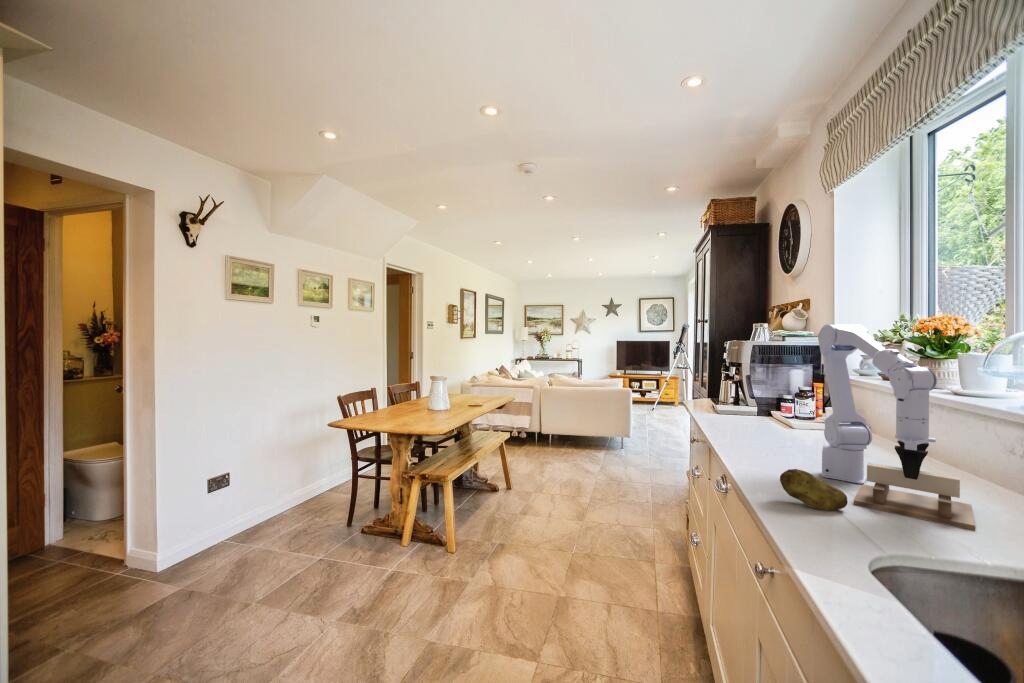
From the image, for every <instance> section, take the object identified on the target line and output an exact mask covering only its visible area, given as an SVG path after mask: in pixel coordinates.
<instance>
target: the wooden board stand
mask: <svg viewBox="0 0 1024 683" xmlns="http://www.w3.org/2000/svg"><path fill="white" fill-rule="evenodd" d="M937 495H938V497H934V496H927V495H922V494H916V493H913V492H912V493H911V492H905V491H901V490H895V489H891V488H890V485H886V484H880V483H875V482H874V485H871V484H870V485H868V484H865V483H864V484H861V486H860V487H859V489H858V491H857V493H856V495H855V497H854V498H853V505H855V506H859V507H865V508H869V509H873V510H879V511H883V512H888V513H892V514H897V515H902V516H905V517H911V518H916V519H920V520H925V521H929V522H934V523H940V524H943V525H949V526H953V527H957V528H961V529H962V528H963V529H967V530H971V531H976V521H975V516H974V511H973V506H972V504H971V503H965V502H962V501H961V502H959V501H954V500H952V497H951V496H946V495H940V494H937Z"/></svg>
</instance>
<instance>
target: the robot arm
mask: <svg viewBox="0 0 1024 683" xmlns="http://www.w3.org/2000/svg"><path fill="white" fill-rule="evenodd" d="M817 338H818V344H819V351H820V354H821V355H822V359H823V364H824V370H825V375H826V381H827V387H828V393H829V398H830V403H831V404H830V405H831V409H832V413H831V414H830V415H829V416H828V417H826V418H825V419H824V430H823V434H824V435H823V436H824V439H825V440H826V443H828V444H826V443H825V444H823V446H822V449H821V450H822V451H821V477H823V478H827V479H828V478H829V479H834V480H839V481H844V482H849V483H855V484H861V485H862V484H864V485H865V482H867V475H865V474H864V467H865V466H864V465H865V464H864V462H865V461H864V460H865V459H864V458H865V456H864V455H865V454H864V453H865V450H867V449H868V448H867V447H869V446H870V444H871V443H872V440H873V433H872V430H871V429H870V427H869V425H868V421H867V419H866V418H865V417H863V416H862V415H861V414H859V413H858V412H857V411H856V410H857V409H856V405H855V399H854V395H853V390H852V386H851V378H850V374H849V369H848V365H847V358H848V356H849V355H853V353H855V352H856V351H857V350H859V351H861V352H862V353H864V354H865V355H867V356H868V357H869V358H871V360H872V364H873V366H874V367H875V368H876V369H878V371H880V372H881V373H882V374H884V375H885V376H886V377H887V378H888V379H889V384H890V385H891V388H892V389H893V396H894V398H895V400H896V405H895V406H896V407H895V408H896V410H895V411H896V413H895V416H896V417H895V418H896V419H895V434H894V438H895V439H896V440H897V443H898V445H894V450H895V452H896V453H897V455H898V457H899V460H900V464H901V468H903V473H904V476H905V478H909V479H915V480H917V479H918V476H919V472H920V471H921V467H922V463H923V461H924V460H925V458H926V457H927V455H928V454H929V451H928V450H927V449H928V447H929V446H930V444H929V443H936V442H937V439H936V438H935V437H930V391H932V390H934V389H935V387H936V386H937V382H938V380H937V378H938V377H937V375H936V373H935V371H934V370H932V368H931V367H929V366H919V365H917V364H915V362H914V361H912V360H909V359H908V358H906V357H905V356H904V355H902V354H901V351H900V350H899V349H893V348H884V347H883V346H882V345H881V344H880V343H879V342H877V340H875V339H874V338H873V337H872V336H871V335H869V330H868V329H867V328H866V327H864V326H863V325H862V324H857V323H856V324H824V325H823V326H822V327H821V328H820V330H819V332H818V334H817Z"/></svg>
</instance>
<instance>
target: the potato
mask: <svg viewBox="0 0 1024 683" xmlns="http://www.w3.org/2000/svg"><path fill="white" fill-rule="evenodd" d="M779 482H780V483H781V486H782V488H783V490H784V491H785V492H786V494H787V495H788V496H789V497H791V498H794V499H795V500H798V501H800V502H801V503H803V504H805V505H806V506H807V507H808V506H809V507H810V508H814V509H817V510H824V511H827V510H828V511H837V510H842V509H845V507H847V505H848V496H847V494H846V493H845V492H843V491H842V490H841V489H839V488H838V487H835V486H834V485H832V484H830V483H827V482H825V481H824V480H822V479H820V478H819V477H817V476H815V475H813V474H812V473H810V472H809V471H808V472H807V471H805V470H803V469H797V468H794V469H793V468H792V469H790V468H789V469H787V470H785V471H783V472H782V473H781V474H780V476H779Z"/></svg>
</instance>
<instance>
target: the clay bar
mask: <svg viewBox="0 0 1024 683" xmlns="http://www.w3.org/2000/svg"><path fill="white" fill-rule="evenodd" d="M866 476H867V479H866V482H869V483H874V484H875V483H880V484H886V485H889V486H890V487H891V486H892V487H897V488H903V489H908V490H915V491H919V492H926V493H929V494H934V495H935V494H937V495H938V494H940V495H946V496H951V498H957V499H960V497H961V494H960V493H961V492H960V490H961V482H960V481H961V478H960V476H954V475H950V474H949V475H948V474H941V473H935V472H930V471H923V470H920V472H919V476H918V479H917V480H915V479H909V478H905V476H904V473H903V468H902V467H898V466H892V465H886V464H885V465H884V464H881V463H880V464H879V463H873V462H868V463H867V464H866Z"/></svg>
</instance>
